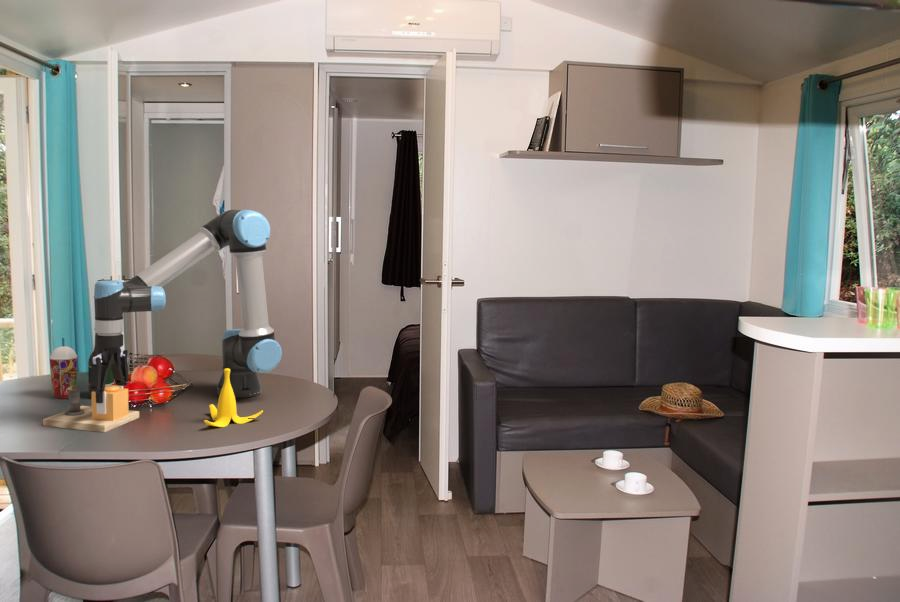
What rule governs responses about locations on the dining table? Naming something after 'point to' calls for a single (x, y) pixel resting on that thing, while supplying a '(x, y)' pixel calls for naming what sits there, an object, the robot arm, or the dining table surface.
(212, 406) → the banana peel
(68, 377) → the smoothie
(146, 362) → the gray wire basket
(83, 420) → the board
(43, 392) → the dining table surface
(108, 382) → the beer bottle
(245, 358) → the robot arm
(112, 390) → the orange cube with nub
